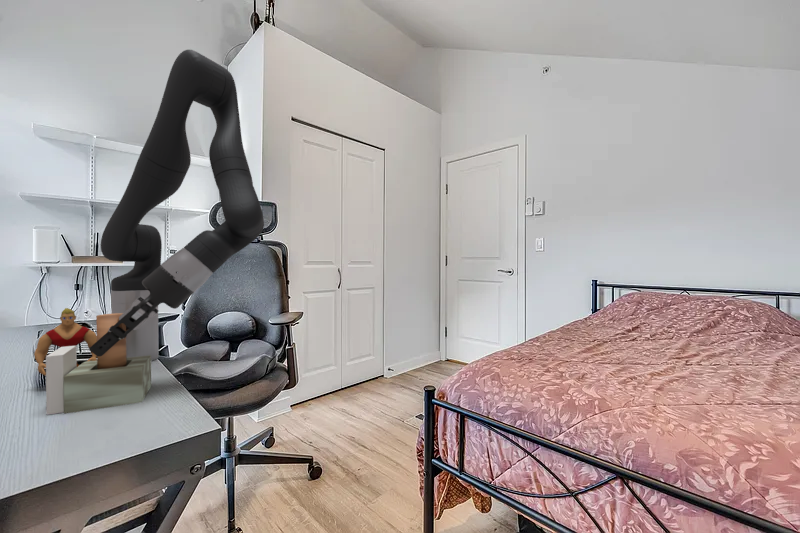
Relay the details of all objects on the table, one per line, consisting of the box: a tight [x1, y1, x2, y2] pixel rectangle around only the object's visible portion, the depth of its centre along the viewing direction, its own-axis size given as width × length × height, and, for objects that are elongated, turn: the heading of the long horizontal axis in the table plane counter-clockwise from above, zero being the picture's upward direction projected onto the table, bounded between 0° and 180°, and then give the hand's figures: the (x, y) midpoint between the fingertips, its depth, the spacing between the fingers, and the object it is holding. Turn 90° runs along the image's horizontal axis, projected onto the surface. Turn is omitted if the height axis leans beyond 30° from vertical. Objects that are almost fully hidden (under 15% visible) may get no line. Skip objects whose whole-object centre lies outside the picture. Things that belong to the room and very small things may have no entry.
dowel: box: [95, 313, 127, 369], centre depth 64 cm, size 4×4×10 cm
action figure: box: [33, 307, 97, 376], centre depth 71 cm, size 10×4×15 cm, turn 129°
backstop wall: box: [45, 346, 78, 416], centre depth 60 cm, size 8×2×9 cm, turn 30°
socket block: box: [63, 355, 152, 415], centre depth 64 cm, size 10×10×6 cm
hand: (97, 350), depth 63 cm, fingers closed on dowel, 3 cm apart
